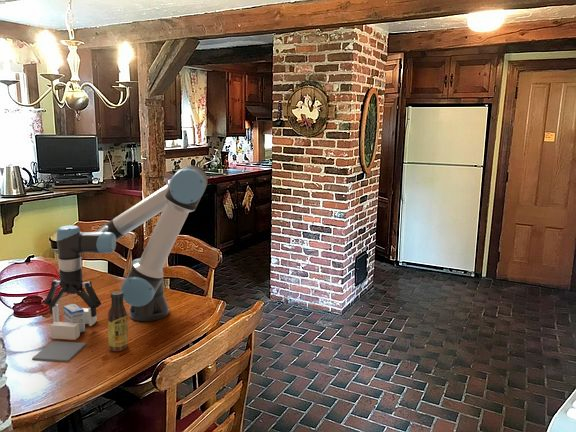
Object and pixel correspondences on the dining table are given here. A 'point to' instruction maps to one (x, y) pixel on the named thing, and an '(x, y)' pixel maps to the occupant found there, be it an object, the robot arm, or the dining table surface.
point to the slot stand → (68, 328)
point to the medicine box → (74, 315)
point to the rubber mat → (59, 351)
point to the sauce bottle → (117, 323)
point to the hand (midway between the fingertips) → (74, 323)
